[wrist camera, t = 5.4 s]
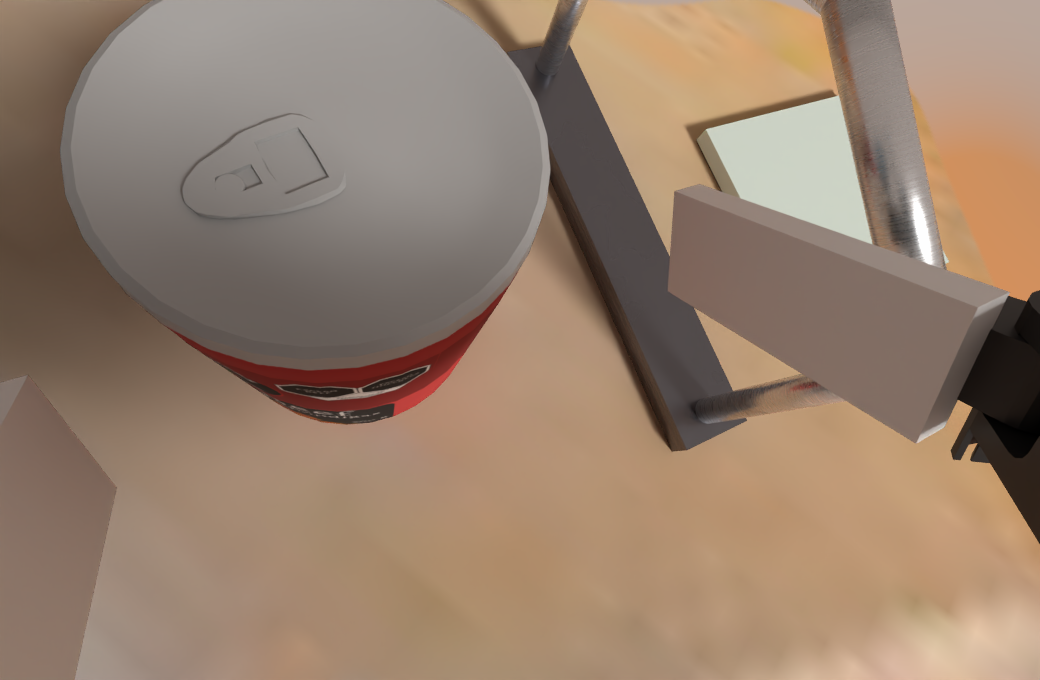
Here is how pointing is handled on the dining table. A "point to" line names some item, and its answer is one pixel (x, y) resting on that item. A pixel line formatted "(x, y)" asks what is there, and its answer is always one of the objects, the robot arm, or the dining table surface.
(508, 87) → the canned food
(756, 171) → the sage mat
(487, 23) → the dining table surface
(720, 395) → the metal handle
